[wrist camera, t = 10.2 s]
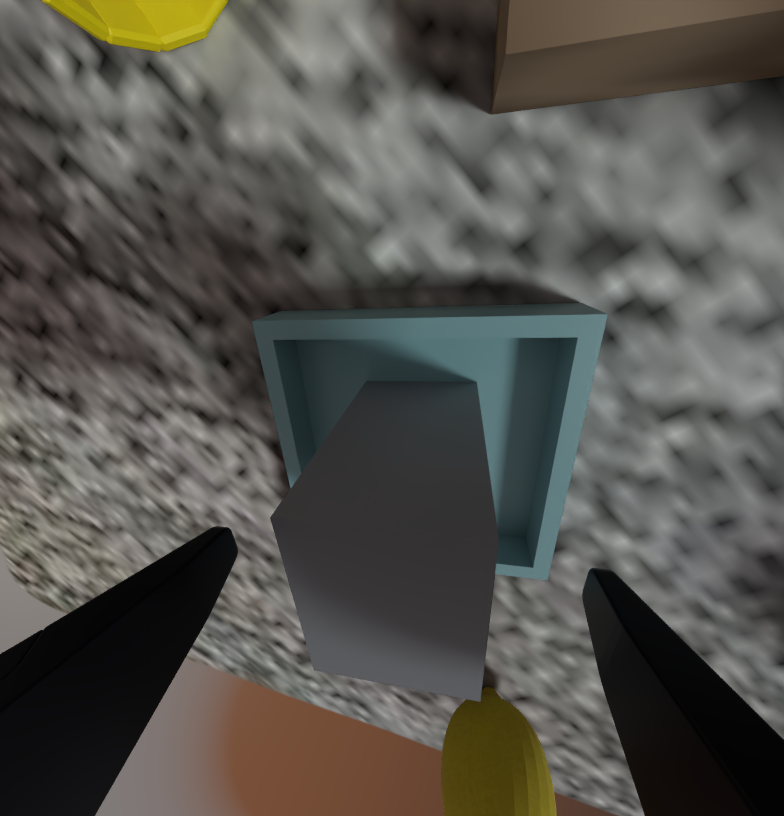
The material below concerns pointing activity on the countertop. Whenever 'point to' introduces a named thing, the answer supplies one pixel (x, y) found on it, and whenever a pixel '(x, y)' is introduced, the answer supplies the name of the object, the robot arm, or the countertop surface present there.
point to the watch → (143, 20)
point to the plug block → (396, 540)
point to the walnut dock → (629, 48)
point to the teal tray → (451, 362)
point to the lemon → (494, 762)
